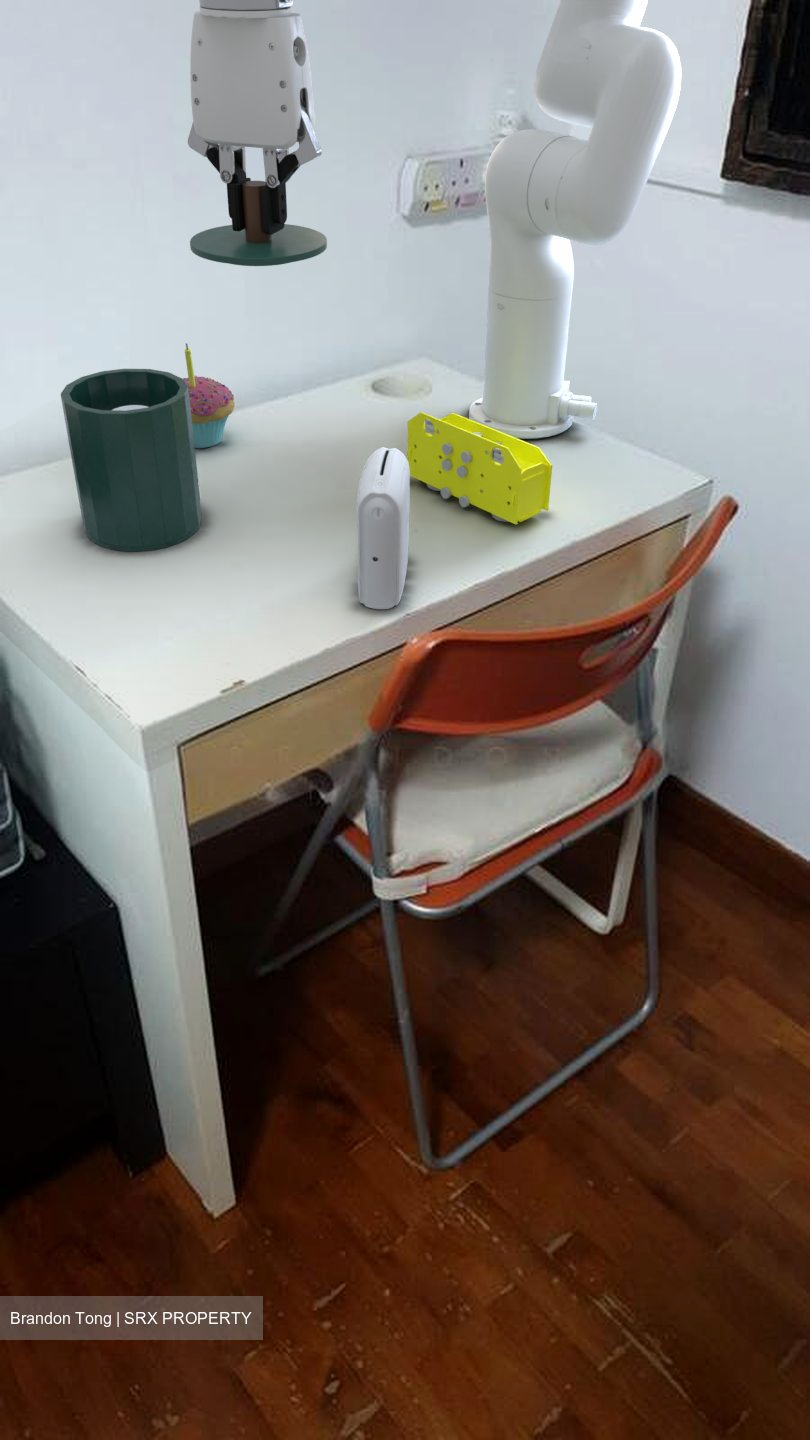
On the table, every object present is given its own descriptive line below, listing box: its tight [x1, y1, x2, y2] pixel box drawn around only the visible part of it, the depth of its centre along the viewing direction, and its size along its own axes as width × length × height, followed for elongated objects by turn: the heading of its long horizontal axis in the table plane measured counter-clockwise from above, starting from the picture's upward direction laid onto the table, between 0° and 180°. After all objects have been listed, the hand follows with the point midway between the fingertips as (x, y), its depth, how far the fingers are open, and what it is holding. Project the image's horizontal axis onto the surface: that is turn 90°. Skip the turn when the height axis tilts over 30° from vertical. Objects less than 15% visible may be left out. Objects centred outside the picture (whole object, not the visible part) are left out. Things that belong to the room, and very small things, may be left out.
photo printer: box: [356, 446, 411, 610], centre depth 103 cm, size 10×4×12 cm, turn 175°
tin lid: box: [189, 180, 328, 267], centre depth 105 cm, size 13×13×6 cm
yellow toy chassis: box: [406, 411, 553, 525], centre depth 119 cm, size 16×6×8 cm, turn 43°
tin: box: [60, 368, 203, 552], centre depth 112 cm, size 12×12×14 cm
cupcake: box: [182, 342, 236, 449], centre depth 130 cm, size 9×8×12 cm
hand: (258, 227), depth 105 cm, fingers closed on tin lid, 2 cm apart
